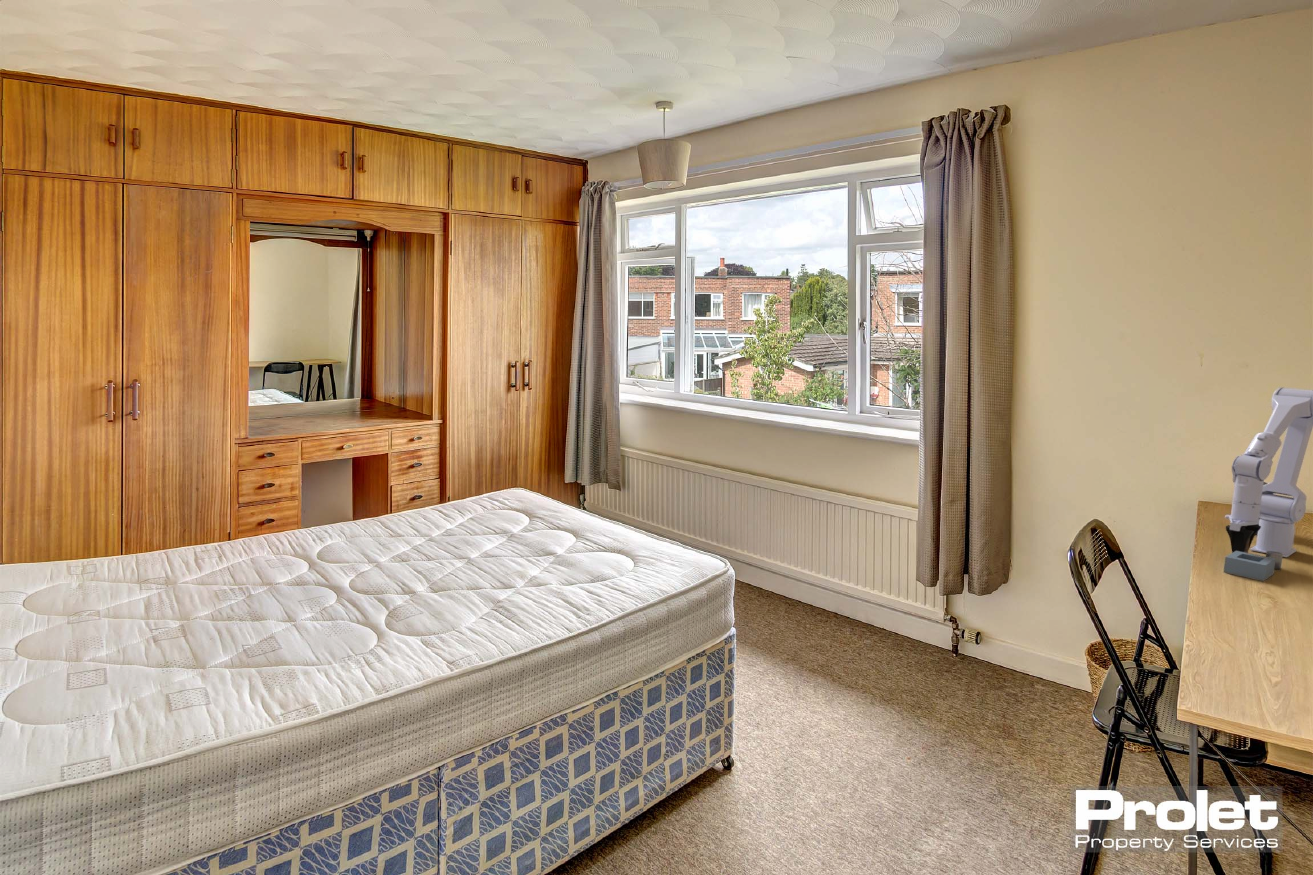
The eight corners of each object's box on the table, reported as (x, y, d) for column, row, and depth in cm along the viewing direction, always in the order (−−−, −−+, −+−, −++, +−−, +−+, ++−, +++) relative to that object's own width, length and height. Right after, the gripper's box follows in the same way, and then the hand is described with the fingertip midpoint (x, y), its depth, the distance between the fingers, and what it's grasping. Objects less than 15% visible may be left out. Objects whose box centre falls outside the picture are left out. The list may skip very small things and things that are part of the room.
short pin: (1266, 565, 192) (1268, 550, 191) (1282, 568, 189) (1284, 553, 188) (1262, 567, 190) (1264, 552, 189) (1278, 571, 187) (1280, 555, 186)
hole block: (1234, 565, 191) (1236, 550, 190) (1273, 574, 185) (1275, 558, 184) (1223, 572, 186) (1225, 556, 186) (1263, 581, 180) (1265, 565, 179)
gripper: (1237, 494, 200) (1230, 543, 202) (1218, 503, 191) (1211, 554, 193) (1270, 499, 194) (1263, 550, 196) (1252, 508, 185) (1245, 561, 188)
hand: (1239, 552), depth 194 cm, fingers closed on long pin, 3 cm apart
